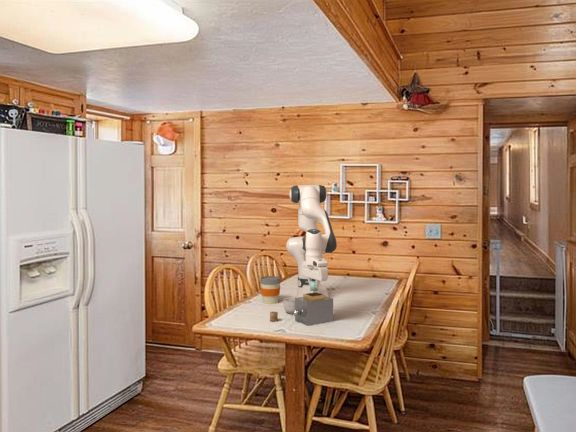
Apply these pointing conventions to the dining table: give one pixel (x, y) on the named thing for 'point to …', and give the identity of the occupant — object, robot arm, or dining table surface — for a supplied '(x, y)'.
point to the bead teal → (313, 286)
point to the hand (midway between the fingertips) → (313, 287)
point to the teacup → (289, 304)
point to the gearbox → (313, 309)
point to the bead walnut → (273, 316)
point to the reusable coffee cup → (270, 289)
